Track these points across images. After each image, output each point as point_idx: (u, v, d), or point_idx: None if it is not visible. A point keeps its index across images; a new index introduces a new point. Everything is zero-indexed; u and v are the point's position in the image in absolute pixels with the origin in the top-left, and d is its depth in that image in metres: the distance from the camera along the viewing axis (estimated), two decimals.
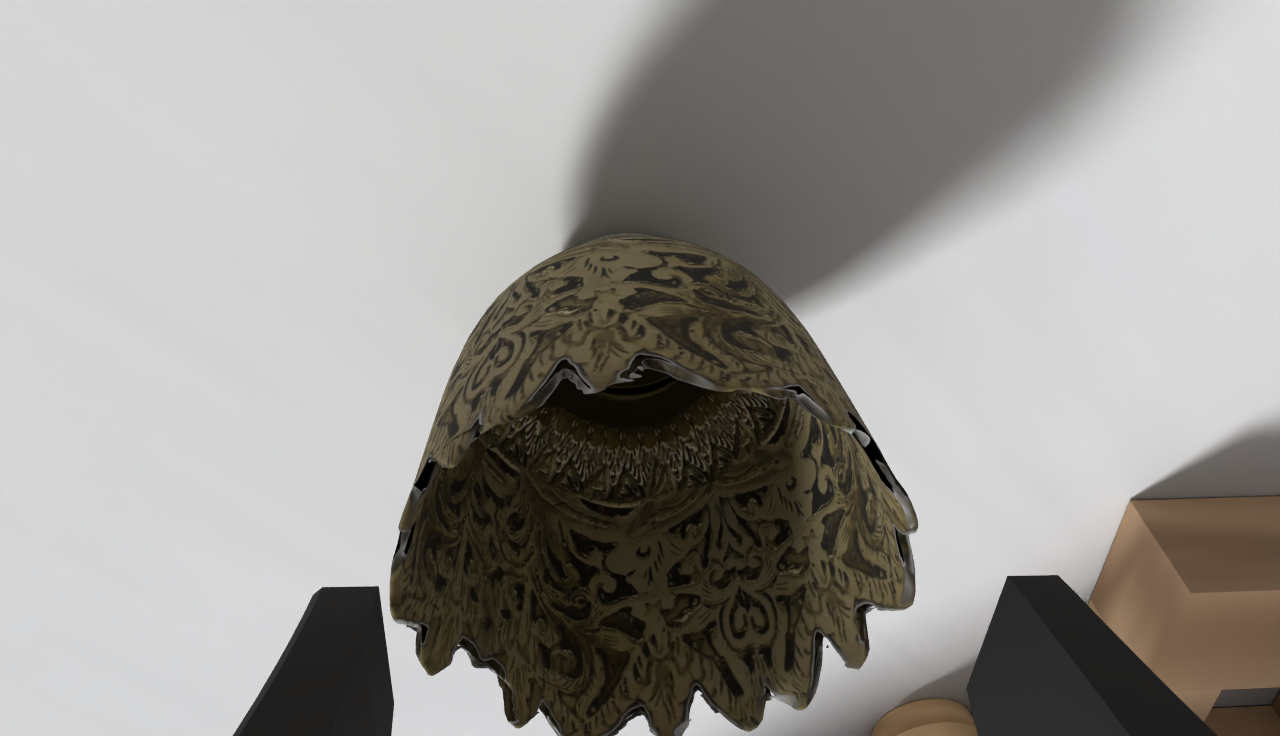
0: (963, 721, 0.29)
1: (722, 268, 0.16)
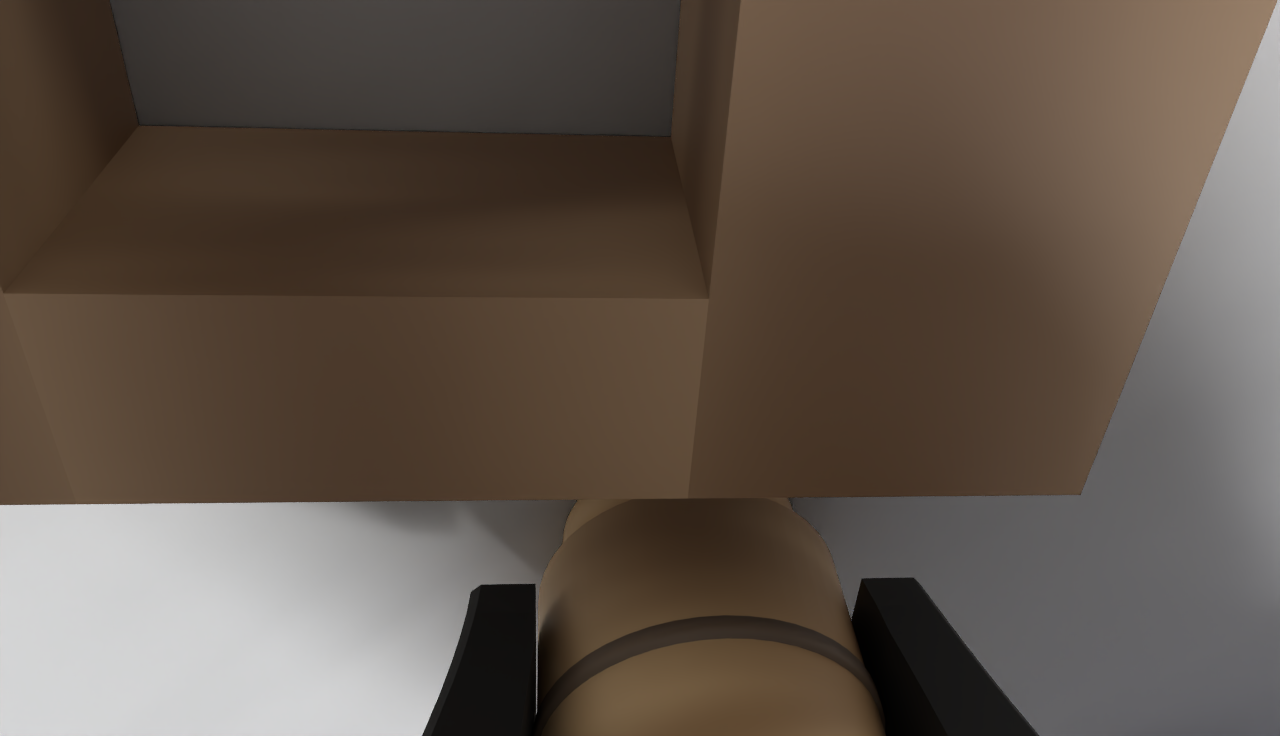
0: None
1: None
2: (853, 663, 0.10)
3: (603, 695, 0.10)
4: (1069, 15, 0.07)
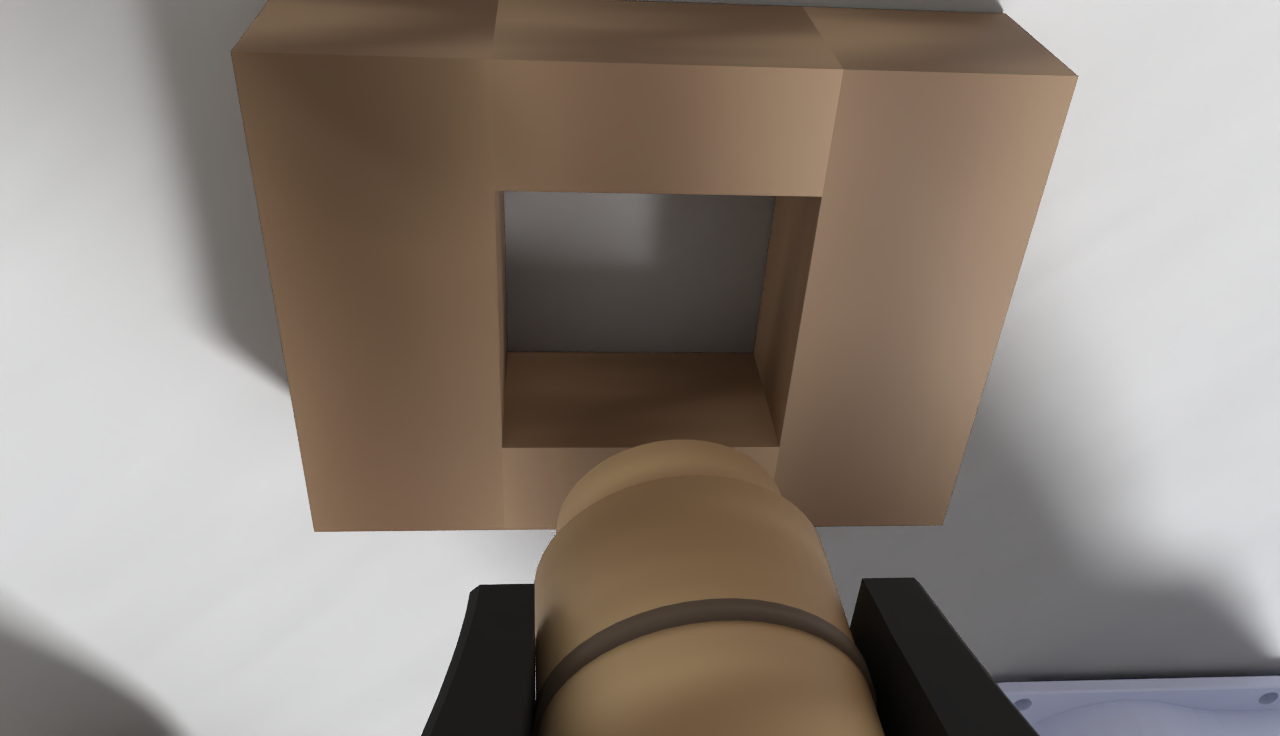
0: None
1: None
2: (840, 639, 0.11)
3: (595, 683, 0.10)
4: (918, 349, 0.18)
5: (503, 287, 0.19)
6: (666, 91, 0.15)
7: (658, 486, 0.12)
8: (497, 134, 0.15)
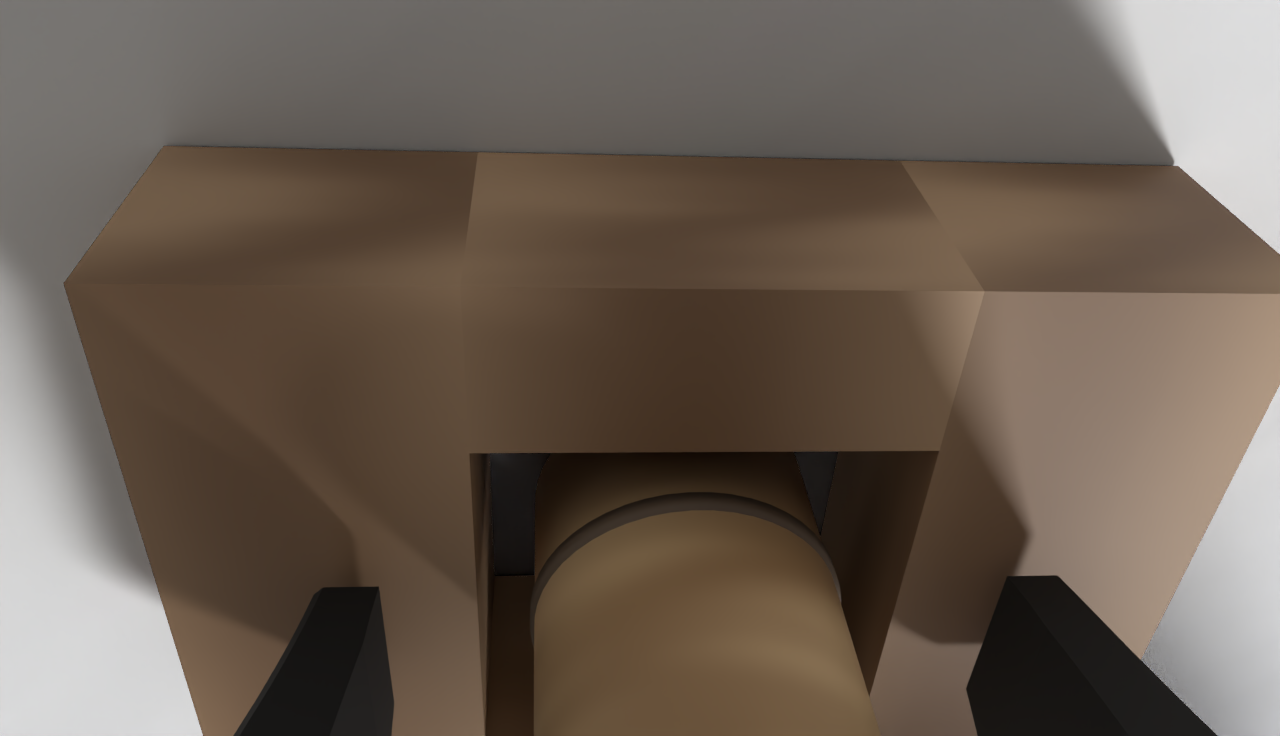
0: None
1: None
2: (806, 532, 0.12)
3: (586, 563, 0.11)
4: None
5: (487, 522, 0.14)
6: (721, 323, 0.10)
7: None
8: (472, 383, 0.10)
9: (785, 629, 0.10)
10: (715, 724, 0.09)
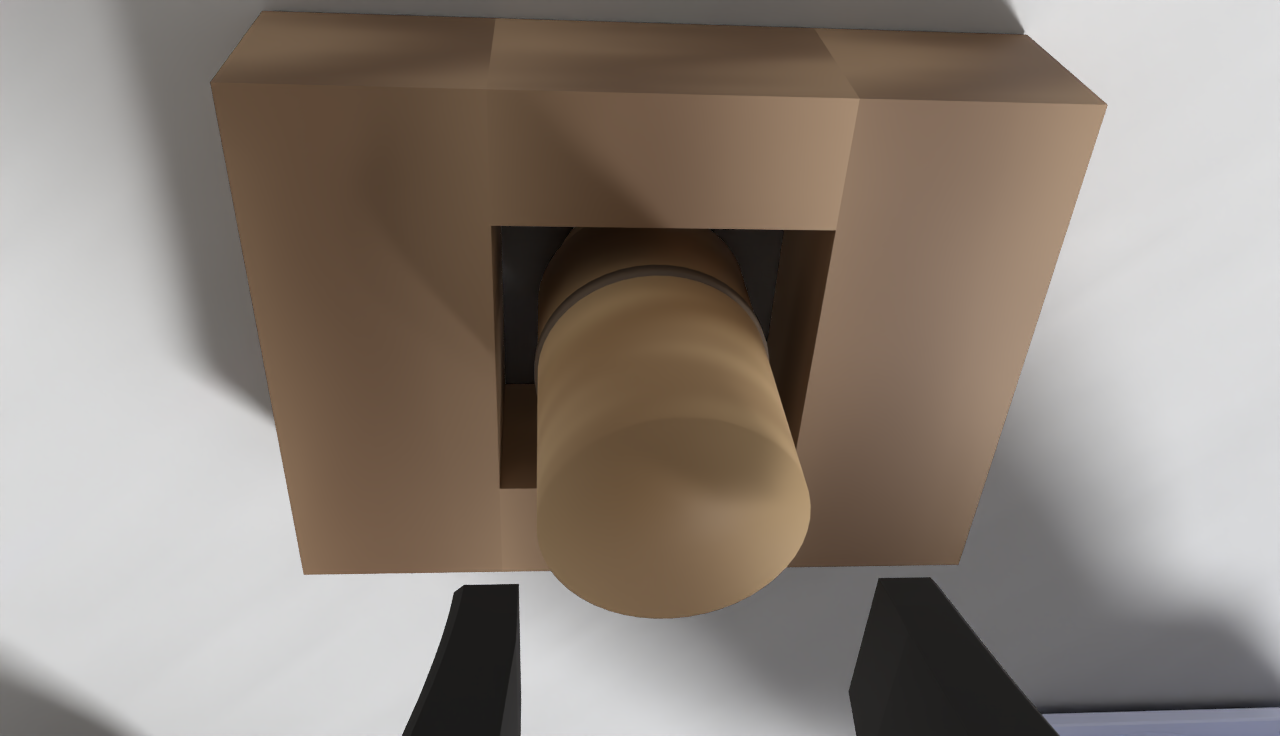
0: None
1: None
2: (740, 299, 0.16)
3: (575, 314, 0.15)
4: (936, 386, 0.17)
5: (500, 320, 0.18)
6: (672, 121, 0.14)
7: None
8: (493, 167, 0.14)
9: (717, 341, 0.14)
10: (662, 385, 0.13)
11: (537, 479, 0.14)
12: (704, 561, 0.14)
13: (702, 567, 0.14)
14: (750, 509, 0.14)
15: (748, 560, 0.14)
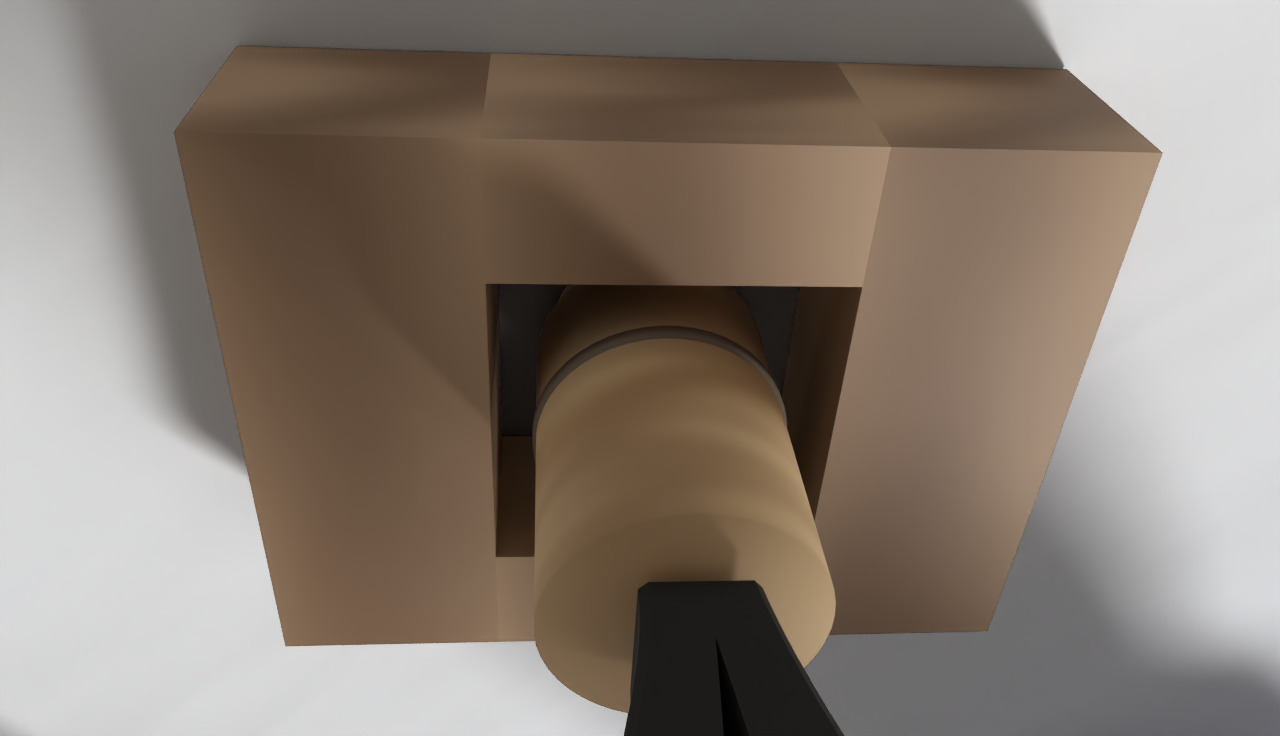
0: None
1: None
2: (756, 361, 0.15)
3: (576, 380, 0.14)
4: (967, 449, 0.16)
5: (497, 374, 0.17)
6: (684, 172, 0.13)
7: None
8: (488, 222, 0.13)
9: (732, 417, 0.13)
10: (674, 473, 0.12)
11: (535, 570, 0.13)
12: None
13: None
14: None
15: None
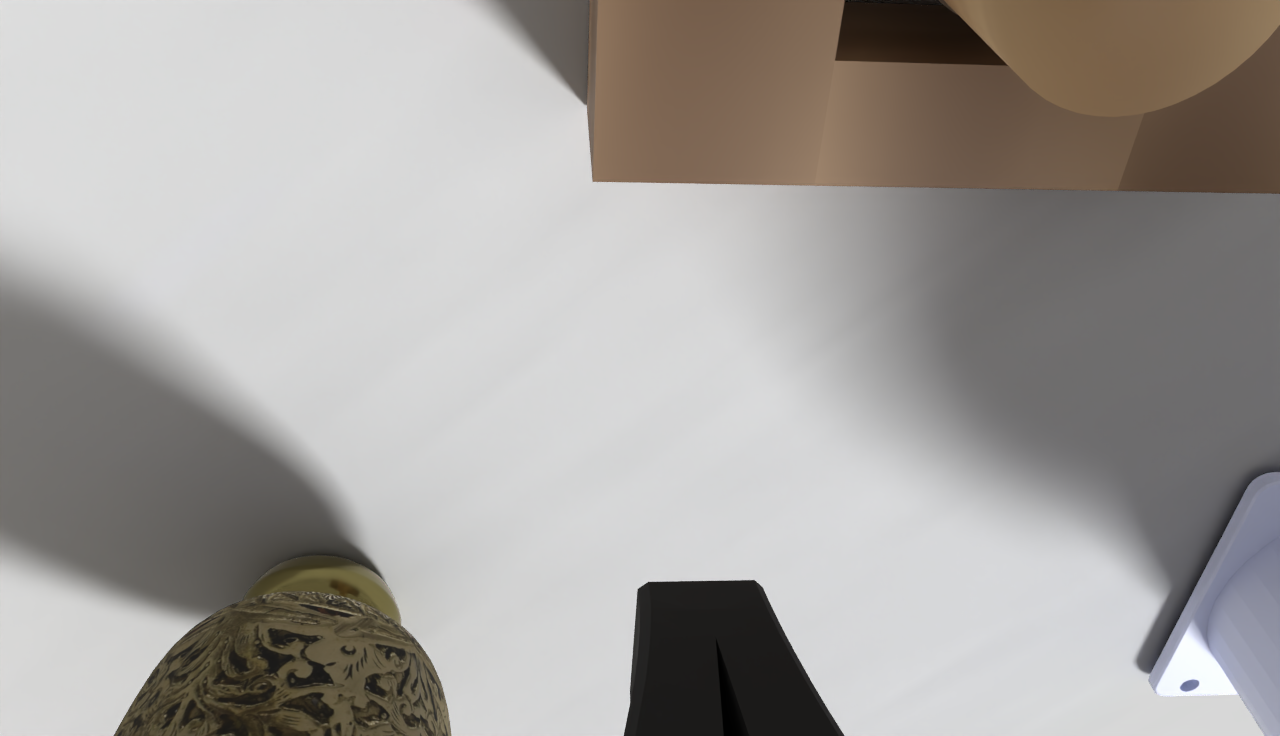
0: None
1: None
2: None
3: None
4: None
5: None
6: None
7: None
8: None
9: None
10: None
11: None
12: (1177, 23, 0.12)
13: (1172, 32, 0.12)
14: None
15: (1228, 25, 0.12)
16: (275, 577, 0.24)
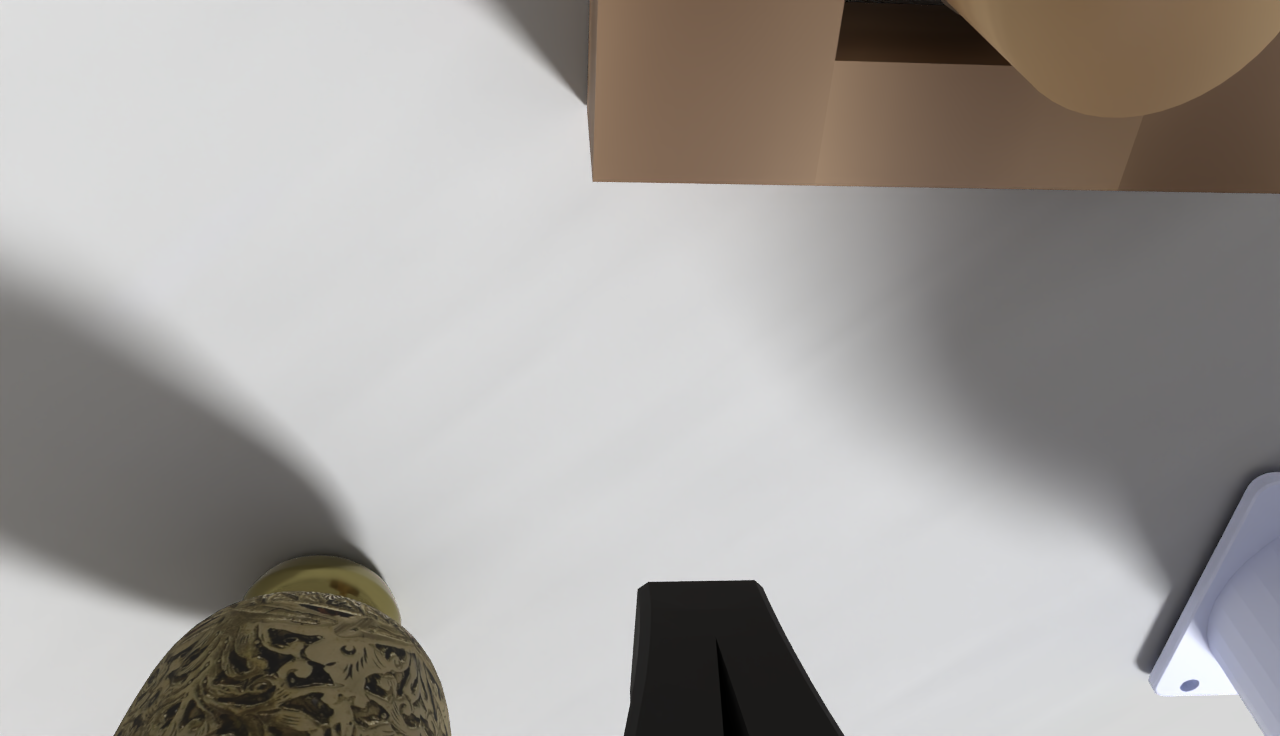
0: None
1: None
2: None
3: None
4: None
5: None
6: None
7: None
8: None
9: None
10: None
11: None
12: (1183, 23, 0.12)
13: (1179, 33, 0.12)
14: None
15: (1234, 25, 0.12)
16: (275, 577, 0.24)
